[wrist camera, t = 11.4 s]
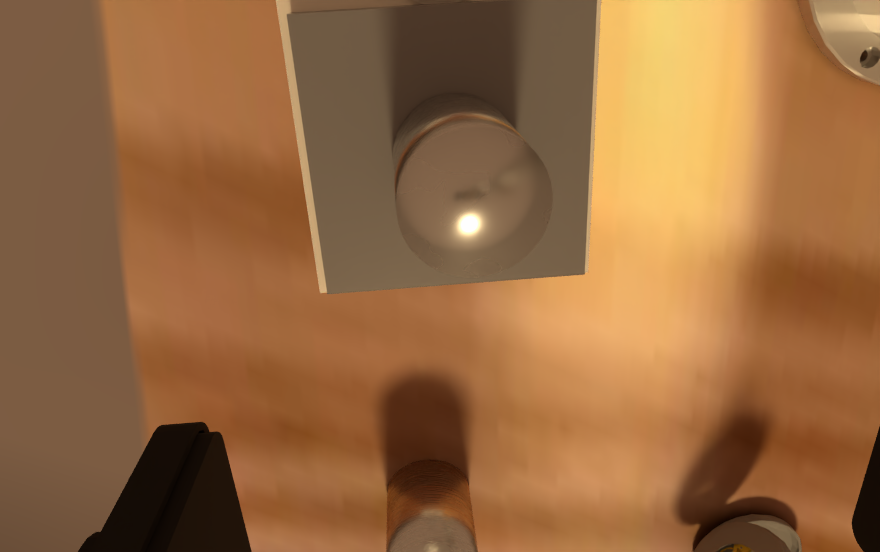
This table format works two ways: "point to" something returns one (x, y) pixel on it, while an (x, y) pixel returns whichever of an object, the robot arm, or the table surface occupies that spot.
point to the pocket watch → (751, 536)
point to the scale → (411, 83)
